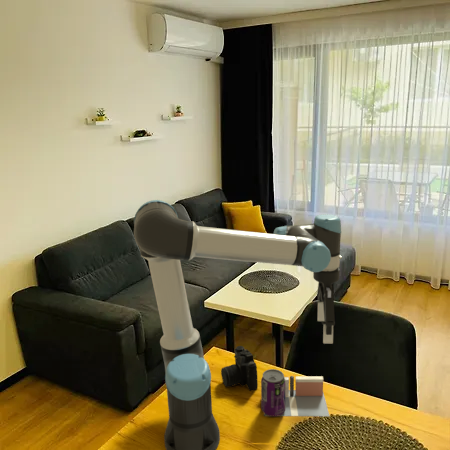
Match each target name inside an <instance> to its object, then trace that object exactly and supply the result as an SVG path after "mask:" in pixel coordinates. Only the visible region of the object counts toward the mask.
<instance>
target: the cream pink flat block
mask: <svg viewBox="0 0 450 450" xmlns="http://www.w3.org/2000/svg"><path fill="white" fill-rule="evenodd" d="M294 390H295V394H296V396H323V393H324V376H322V375H321V376H317V375H316V376H312V375H311V376H309V375H308V376H305V375H304V376H301V375H300V376H298V375H297V376H295V389H294Z"/></svg>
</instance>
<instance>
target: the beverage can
mask: <svg viewBox="0 0 450 450" xmlns="http://www.w3.org/2000/svg"><path fill="white" fill-rule="evenodd" d="M284 377H285V375H284V372H282V371H281V370H279V369H274V368H273V369H272V368H270V369H267V370H265V371H264V372H263V373H262V377H261V380H260V389H261V392H260V395H261V396H260V397H261V399H260V401H261V402H260V403H261V411H262V412H263V414H264V413H265V414H267V415H269V416H268V417H280V416H279V415H282V414H283V413H284V412H285V378H284Z"/></svg>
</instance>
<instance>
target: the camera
mask: <svg viewBox="0 0 450 450" xmlns="http://www.w3.org/2000/svg"><path fill="white" fill-rule="evenodd" d="M233 358H234V359H235V360H234V361H235V363H233V364H231V365H226V366H224V367H222V368H221V369H220V370H221V371H220V374H221V380H222V382H223V385H224V386H225V387H226V388H227V387H234V386H237V385H240V386H241V387H245V386H246V388H247V389H248V390H249V391H250V392H252V391H256V390H257V389H258V387H259V386H258V385H259V384H258V367H257V366H258V365H257V363H256V362H255V359H254V355H253V354H252V352H251V351H250V350H248V349H245V347H244V346H243V345H238V346H236V347H235V348H234V356H233Z"/></svg>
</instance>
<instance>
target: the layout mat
mask: <svg viewBox="0 0 450 450" xmlns="http://www.w3.org/2000/svg"><path fill="white" fill-rule="evenodd" d="M263 416H264V417H270V416H269V415H267V414H265V413H264V412H263ZM278 417H330V413H329V409H328V404H327V401H326V397H325V395H324V392H323V396H296V394H295V389H294V396H290V389H289V396H285V412H284V413H283V414H282V415H279V416H278Z"/></svg>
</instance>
